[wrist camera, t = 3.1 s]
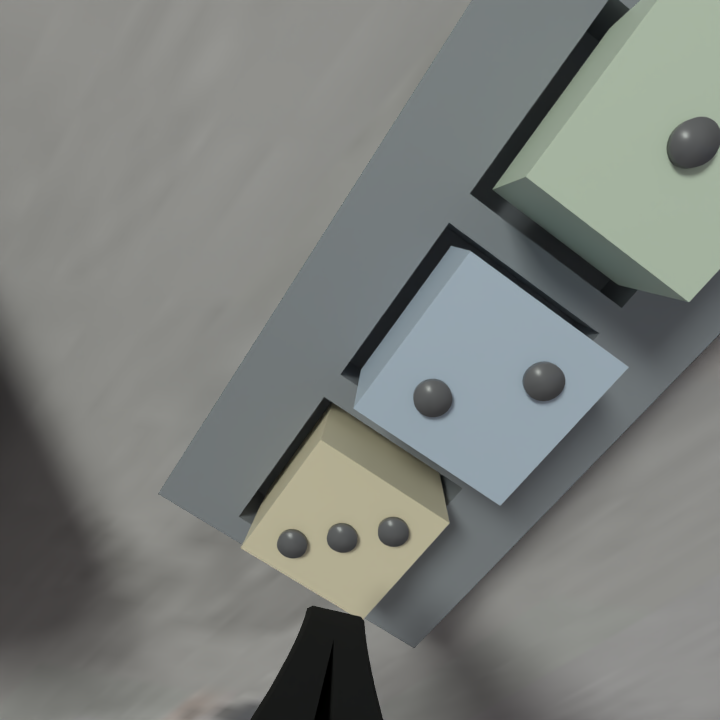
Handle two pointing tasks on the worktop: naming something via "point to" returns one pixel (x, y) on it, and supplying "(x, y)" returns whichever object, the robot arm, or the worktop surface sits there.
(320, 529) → the tile three dots
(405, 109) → the board
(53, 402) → the worktop surface
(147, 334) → the worktop surface
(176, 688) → the worktop surface
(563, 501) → the worktop surface
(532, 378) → the tile two dots
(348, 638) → the robot arm
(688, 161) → the tile one dot
